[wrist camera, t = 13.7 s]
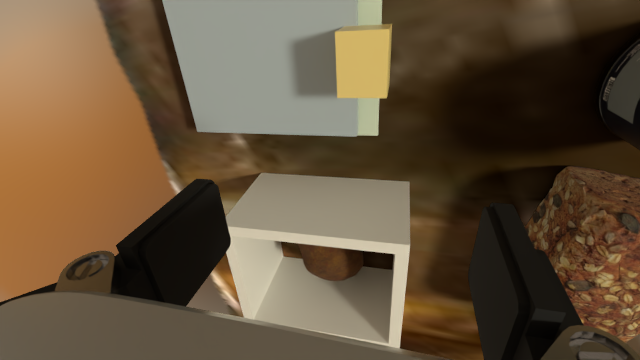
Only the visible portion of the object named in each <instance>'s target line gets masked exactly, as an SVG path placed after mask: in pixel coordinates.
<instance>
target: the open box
mask: <svg viewBox="0 0 640 360" xmlns="http://www.w3.org/2000/svg"><path fill="white" fill-rule="evenodd" d="M226 222H227V226H228V230H229V234H230V238H231V244H230V247H229V249H228V250H227V252H226V254H227V257H228V261H229V265H230V268H231V272H232V275H233V279H234V283H235V286H236V290H237V294H238V297H239V301H240V304H241V308H242V312H243V315H244V318H248V319H254V320H259V321H264V322H269V323H274V324H279V325H284V326H290V327H295V328H300V329H305V330H310V331H315V332H320V333H325V334H330V335H335V336H340V337H345V338H350V339H355V340H360V341H365V342H370V343H375V344H380V345H385V346H390V347H395V348H400V340H401V330H402V320H403V310H404V300H405V290H406V281H407V271H408V261H409V251H410V198H409V182H405V181H389V180H372V179H355V178H339V177H322V176H305V175H289V174H272V173H261V174H260V175H259V176H258V177H257V179H256V180H255V181H254V182H253V184H252V185H251V186H250V187H249V188H248V190H247V191H246V192H245V193H244V195H243V196H242V197H241V198H240V200H239V201H238V202H237V203H236V205H235V206H234V207H233V208H232V209H231V211H230V212H229V213H228V214H227V216H226ZM281 241H282V242H291V243H299V244H308V245H317V246H326V247H335V248H344V249H353V250H362V251H371V252H380V253H389V254H394V256H393V270H388V269H380V268H372V267H364V266H362V268H361V269H360V271H359V272H358V273H357V274H356V275H355V276H353V277H350V278H348V279H346V280H343V281H328V280H324V279H321V278H319V277H317V276H315V275H313V274H311V273H310V272H309V271H307V269H306V267H305V265H304V262H303V259H299V258H291V257H283V252H282V246H281Z"/></svg>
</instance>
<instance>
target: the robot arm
mask: <svg viewBox="0 0 640 360" xmlns="http://www.w3.org/2000/svg"><path fill="white" fill-rule="evenodd" d="M230 244H231V238H230V234H229V230H228V226H227V222H226V217H225V213H224V209H223V205H222V201H221V197H220V193H219V188H218V186H217V185H216V184H215V183H214V182H213V181H212V180H207V179H196V180H194V181H193V182H192V183H191V184H189V185H188V186H187V187H186V188H185V189H183V190H182V191H181V192H180V193H178V194H177V195H176V196H175V197H174V198H173V199H171V200H170V201H169V202H168V203H166V204H165V205H164V206H163V207H162V208H160V209H159V210H158V211H157V212H156V213H154V214H153V215H152V216H151V217H150V218H148V219H147V220H146V221H145V222H144V223H142V224H141V225H140V226H139V227H137V228H136V229H135V230H134V231H133V232H131V233H130V234H129V235H128V236H127V237H125V238H124V239H123V240H122V241H121V242H119V243H118V244H117V245H116V247H117V249H118V251H119V254H118V255H116V256H114V254H113V253H111V252H109V251H96V252H92V253H89V254H86V255H83V256H81V257H79V258H77V259H75V260H74V261H73V262H71V263H70V264H68V265H67V266H66V267H65V268H64V269H63V271H62V272H61V274H60V276H59V280H58V282H57V283H54V284H51V285H48V286H45V287H43V288H40V289H37V290H34V291H31V292H28V293H26V294H23V295H20V296H18V297H14V298H11V299H8V300H6V301H3V302H0V360H451V359H446V358H442V357H437V356H433V355H428V354H423V353H419V352H414V351H409V350H405V349H400V348H395V347H390V346H385V345H380V344H375V343H370V342H365V341H360V340H355V339H350V338H345V337H340V336H335V335H330V334H325V333H320V332H315V331H310V330H305V329H300V328H295V327H290V326H284V325H279V324H274V323H269V322H264V321H259V320H254V319H248V318H243V317H238V316H233V315H228V314H222V313H217V312H211V311H206V310H201V309H196V308H190V307H186V305H187V304H188V303H189V301H190V300H191V299H192V298H193V296H194V295H195V293H196V292H197V291H198V289H199V288H200V287H201V285H202V284H203V283H204V281H205V280H206V279H207V277H208V276H209V275H210V273H211V272H212V270H213V269H214V268H215V266H216V265H217V264H218V262H219V261H220V260H221V258H222V257H223V256H224V254H225V253H226V252H227V250H228V249H229V247H230ZM468 280H469V286H470V291H471V296H472V301H473V306H474V311H475V316H476V321H477V326H478V331H479V336H480V341H481V346H482V351H483V356H484V360H640V335H638V336H636V337H634V338H632V339H631V340H629V341H627V343H625V342H623V341H622V340H620V339H619V338H617V337H616V336H614V335H612V334H610V333H608V332H606V331H604V330H601V329H598V328H594V327H591V326H584V325H583V323H582V321H581V319H580V317H579V315H578V314H577V312H576V310H575V308H574V306H573V304H572V302H571V300H570V298H569V296H568V294H567V293H566V291H565V289H564V287H563V285H562V283H561V281H560V279H559V277H558V275H557V273H556V272H555V270H554V268H553V266H552V264H551V262H550V260H549V258H548V256H547V255H546V253H545V252H544V251H542V250H538V249H535V248H534V246H533V244H532V242H531V240H530V238H529V236H528V234H527V232H526V229H525V227H524V225H523V223H522V221H521V219H520V217H519V215H518V213H517V211H516V209H515V207H514V205H512V204H503V203H491V205H490V207H484V208H483V211H482V215H481V219H480V224H479V228H478V232H477V237H476V241H475V245H474V250H473V254H472V258H471V263H470V267H469V273H468Z"/></svg>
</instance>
